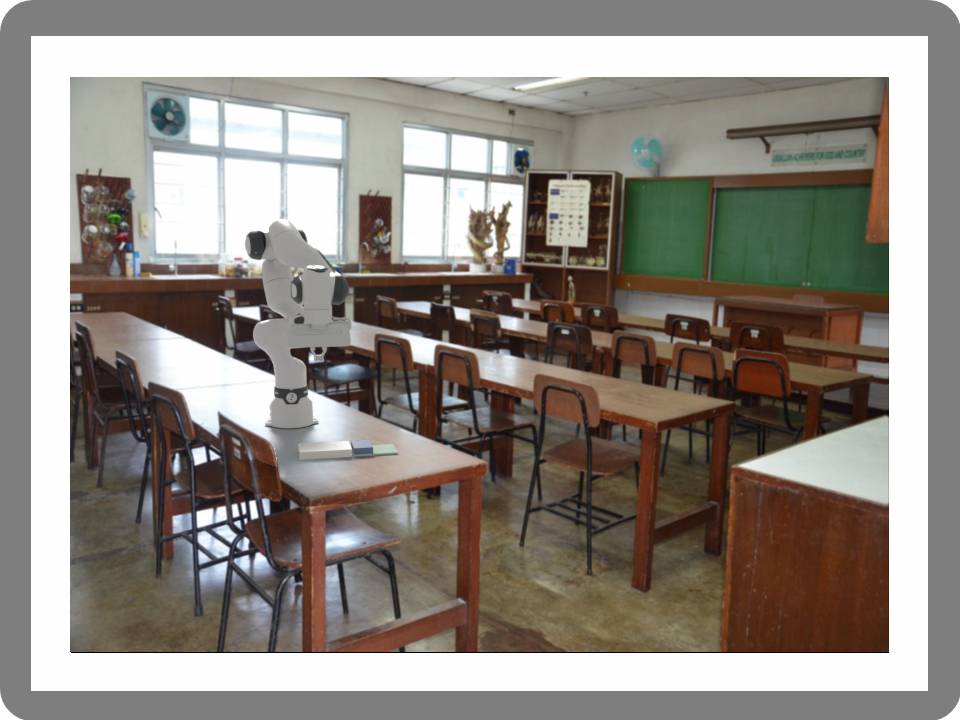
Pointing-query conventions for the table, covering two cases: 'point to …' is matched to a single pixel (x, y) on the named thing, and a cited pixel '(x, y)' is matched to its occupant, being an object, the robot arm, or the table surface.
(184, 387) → the table surface
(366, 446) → the tile
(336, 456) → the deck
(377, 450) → the mat
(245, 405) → the table surface
